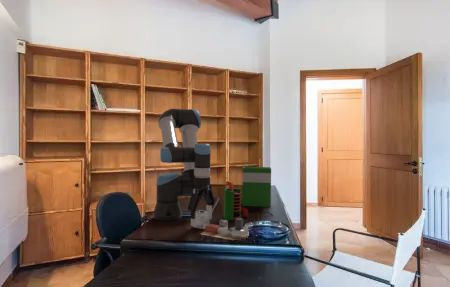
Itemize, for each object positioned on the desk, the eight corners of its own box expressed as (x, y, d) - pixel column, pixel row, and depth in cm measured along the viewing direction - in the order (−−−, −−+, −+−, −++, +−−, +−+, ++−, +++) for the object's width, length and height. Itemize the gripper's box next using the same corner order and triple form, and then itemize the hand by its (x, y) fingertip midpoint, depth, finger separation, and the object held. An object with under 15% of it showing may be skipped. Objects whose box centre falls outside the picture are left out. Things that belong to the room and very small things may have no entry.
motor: (239, 222, 149) (239, 183, 148) (221, 221, 150) (222, 182, 150) (242, 217, 159) (242, 180, 158) (225, 216, 160) (226, 179, 160)
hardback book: (269, 204, 192) (270, 167, 191) (270, 206, 184) (271, 168, 184) (242, 203, 193) (243, 166, 193) (242, 205, 186) (242, 167, 185)
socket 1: (193, 229, 137) (193, 211, 137) (199, 226, 142) (199, 209, 142) (203, 231, 135) (203, 213, 134) (209, 227, 140) (209, 210, 139)
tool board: (200, 236, 128) (200, 234, 128) (214, 228, 139) (214, 226, 139) (251, 246, 117) (251, 243, 117) (262, 236, 129) (262, 234, 128)
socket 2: (217, 230, 133) (217, 221, 133) (221, 227, 137) (221, 219, 137) (225, 231, 132) (225, 222, 132) (229, 228, 135) (229, 220, 135)
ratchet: (202, 233, 129) (203, 216, 129) (211, 228, 136) (212, 212, 136) (244, 240, 120) (244, 222, 120) (251, 235, 127) (251, 218, 127)
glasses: (236, 212, 170) (236, 204, 170) (261, 210, 177) (261, 202, 176) (246, 219, 158) (246, 209, 157) (273, 216, 164) (273, 207, 163)
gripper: (194, 180, 125) (194, 230, 125) (221, 174, 147) (221, 216, 148) (179, 179, 128) (179, 227, 129) (208, 173, 151) (208, 215, 151)
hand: (201, 222), depth 138 cm, fingers open, 13 cm apart
